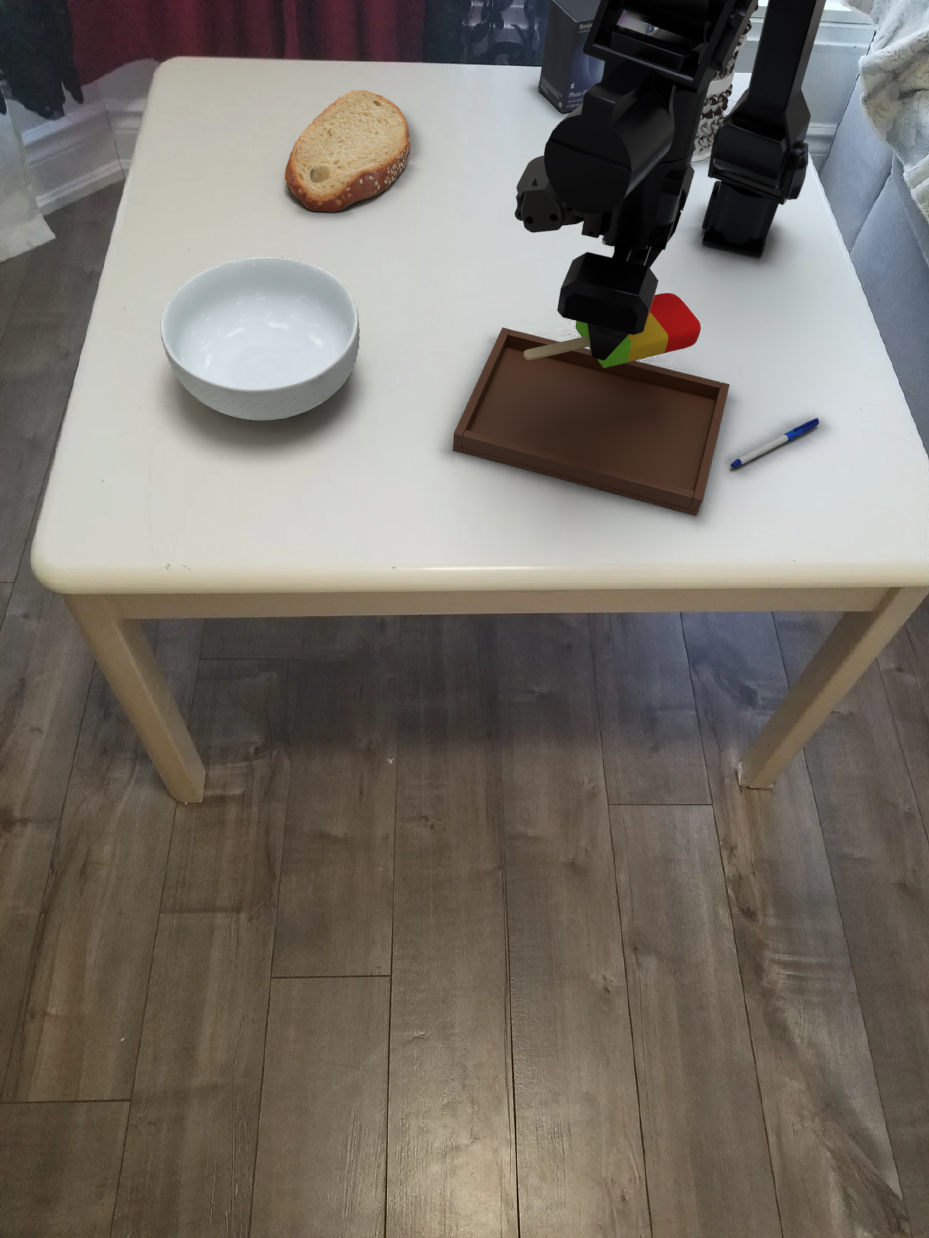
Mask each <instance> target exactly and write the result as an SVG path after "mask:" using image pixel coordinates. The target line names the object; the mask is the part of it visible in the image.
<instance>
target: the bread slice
mask: <svg viewBox="0 0 929 1238" xmlns="http://www.w3.org/2000/svg"><path fill="white" fill-rule="evenodd" d="M410 151H411V138H410V130H409V125H408V122H407V120H406V117H405V115H404V114H403V113H402V111H401V109H400V108H399V106H398V105H396V104H395V103H394V102H392V101H391V100H390V99H388V98H386V97H384V96H382V95H380V94H377V93H374V92H371V91H368V90H360V89H358V90H357V89H356V90H355V89H353V90H350V91H349V92H347V93H346V94H343V95H342V96H339V97H338V98H337V99H336V100H335V101H334V102H332V103H331V104H329V105H328V106H327V107H326V108H325V109H324V110H323V111H322V112H321V113H320V114H318V115H317V117H315V118H314V119H313V121H312V122H311V123H310V124H308V126H307V127H306V128H305V129H304V130H303V132H302V133H301V134H300V135H299V137H298V139H297V140H296V141H295V142H294V144H293V147H292V150H291V151H290V154H289V158H288V161H287V163H286V166H285V170H284V180H285V183H286V185H287V186H288V188H289V190H290V192H291V194H292V195H293V196H294V197H295V198H296V199H298V200H299V201H300V202H301V203H302V205H303V206H304V207H305V208H306V209H308V210H310V211H313V212H341V211H344V210H346V208H347V207H349V206H350V205H352V204H354V203H358V202H360V201H364V200H367V199H371V198H373V197H375V196H378V195H380V194H381V193H383V192H385V191H386V190H387V189H388V188H389V187H390V185H391V184H393V182H394V183H395V181H396V179H398V177H399V176H400V174H401V173H402V171H403V170H405V168H406V163H407V160H408V155H409V154H410Z"/></svg>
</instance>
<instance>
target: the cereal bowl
mask: <svg viewBox="0 0 929 1238" xmlns="http://www.w3.org/2000/svg"><path fill="white" fill-rule="evenodd" d="M359 317H360V315H359V313H358V308H357V305H356V302H355V300H354V297H353V295H352V294H351V292H350V291H349V290H348V288H347V287H346V286H345V285H344V283H343V282H342V281H340V280H339V278H337V277H336V276H334V275H333V274H331V273H330V272H328V271H327V270H325V269H323V268H322V267H319V266H317V265H314V264H312V263H309V262H306V261H302V260H299V259H294V258H289V257H282V256H252V257H250V256H249V257H244V258H238V259H234V260H230V261H225V262H223V263H219V264H216V265H214V266H211V267H208V268H206V269H204V270H202V271H200V272H198V273H197V274H195V275H194V276H192V277H191V278H189V279H188V280H186V281H185V282H184V283H183V284H181V285H180V286H179V288H177V289H176V290H175V291H174V293H172V295H171V296H170V298H169V299H168V301H167V303H166V304H165V307H164V309H163V310H162V316H161V319H160V339H161V341H162V347H163V349H164V351H165V355H166V357H167V360H168V363H169V365H170V366H171V369H172V371H173V373H174V374H175V377H176V378H177V379H178V381H179V382H180V383H181V385H182V386H183V387H184V388H185V389H186V390H187V391H188V392H189V394H191V395H192V396H193V397H194V398H196V399H197V400H198V401H199V402H200V403H202V404H204V405H205V406H208V407H209V408H210V409H212V410H214V411H217V412H218V413H220V414H223V415H226V416H231V417H233V418H237V419H242V420H248V421H250V420H252V421H264V422H265V421H272V420H273V421H276V420H281V419H287V418H291V417H295V416H298V415H300V414H304V413H306V412H308V411H310V410H313V409H314V408H316V407H318V406H320V405H322V404H323V403H324V402H325V401H327V400H328V399H330V398H331V397H332V396H333V395H335V394H336V393H337V391H338V390H339V389H341V388H342V386H343V385H344V384H345V382H347V380H348V378H349V377H350V375H351V372H352V371H353V369H354V368H355V367H354V366H355V363H356V361H357V357H358V354H359V353H358V352H359V349H360V339H361V337H360V333H361V329H360V319H359Z"/></svg>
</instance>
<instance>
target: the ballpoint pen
mask: <svg viewBox="0 0 929 1238" xmlns="http://www.w3.org/2000/svg"><path fill="white" fill-rule="evenodd" d="M819 424H820V419H819V418H818V417H816V418H813V419H811V420H809V421H807V422H805V423H803V424H800V425H798V426H796V427H794V428H793V429H791V430H789V431H787V432H785V433H784V434H783V435H781V436H778V437H777V438H775V439H773V440H771V441H769V442H766V443H765V444H763V445H762V446H759V447H757V448H755V449H753V450H752V451H750V452H748V453H745V454H744V455H742V456H740V457H738V458H736V459H735V460H734V461H733V462H731V463H730V467H731V468H732V469H733V468H737V467H739V466H742V465H744V464H746V463H748V462H750V461H752V460H753V459H756V458H757V457H759V456H762V455H763V454H765V453H767V452H769V451H771V450H773V449H775V448H776V447H778V446H781V445H782V444H784V443H786V442H790V441H791V440H793V439H795V438H798V437H799V436H801V435H803V434H805V433H807V432H808V431H810V430H812V429H814V428H816V427H817V426H818V425H819Z"/></svg>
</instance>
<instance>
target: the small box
mask: <svg viewBox="0 0 929 1238" xmlns="http://www.w3.org/2000/svg"><path fill="white" fill-rule="evenodd" d="M600 1H601V0H549V5H548V15H547V22H546V30H545V36H544V44H543V50H542V51H543V52H542V60H541V68H540V75H539V81H538V85H537V89H538V90H539V91H540V92H541V93H542V94H543V95H544V96H545V97H546V98H547V99H548V100H549V101H550V102H551V103H552V104H553V106H555V108H557V109H558V111H560V112H561V113H568V112H572V111H573V110H574V109H576V108H577V107H578V106H579V105H580V104H581V103H582V102H583V98H584V95H585V93H586V91H588V90H589V89H590V88H591V87H592V86H593V85H595V84H596V83H599V82H601V79H602V76H603V70H604V64H605V62H604V61H601V60H598V59H595V58H593V57H590V56H587V55H584V54H583V48H584V44H585V42H586V39H587V36H588V34H589V31H590V28H591V26H592V23H593V20H594V17H595V15H596V12H597V9H598V7H599V4H600ZM617 25H620V26H623V27H626V28H629V29H632V30H635V31H638V32H641V33H643V34H646V35H647V31H648V26H649V25H648V24H645V23H642V22H639V21H636V20H633V19H630V18H629V17H627V16H626V12H625V9H624V11H623V13H622V15H621V17H620V19H619V21H618V23H617Z"/></svg>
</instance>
